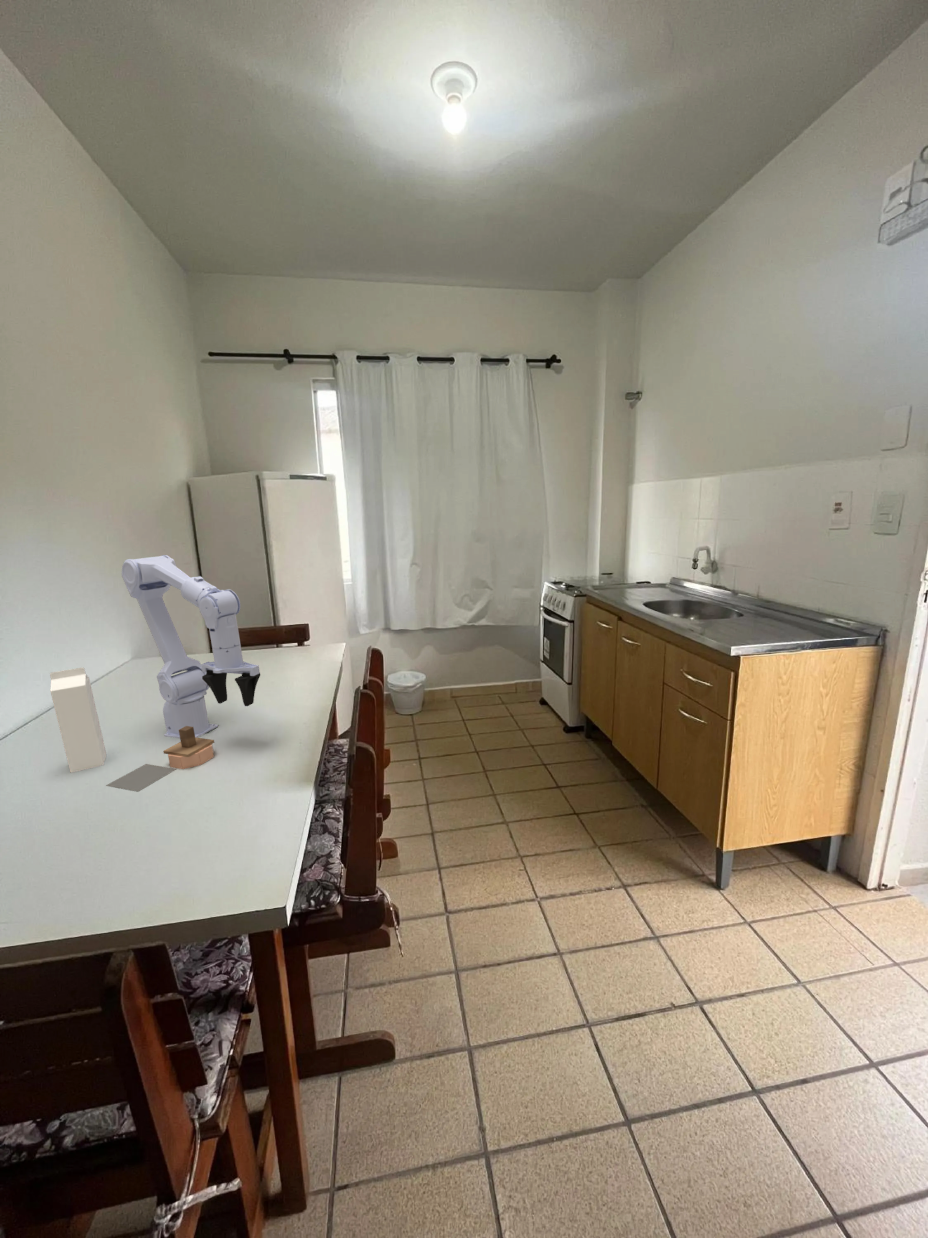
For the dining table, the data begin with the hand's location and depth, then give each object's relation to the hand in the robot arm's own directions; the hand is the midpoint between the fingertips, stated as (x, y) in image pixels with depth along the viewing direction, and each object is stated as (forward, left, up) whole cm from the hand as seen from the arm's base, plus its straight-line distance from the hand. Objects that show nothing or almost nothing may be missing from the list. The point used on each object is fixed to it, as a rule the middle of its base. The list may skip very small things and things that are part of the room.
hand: (235, 703), depth 116 cm
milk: (-28, -16, -11) cm, 34 cm away
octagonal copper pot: (-6, -9, -10) cm, 15 cm away
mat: (-10, -18, -10) cm, 23 cm away
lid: (-6, -9, -7) cm, 13 cm away
